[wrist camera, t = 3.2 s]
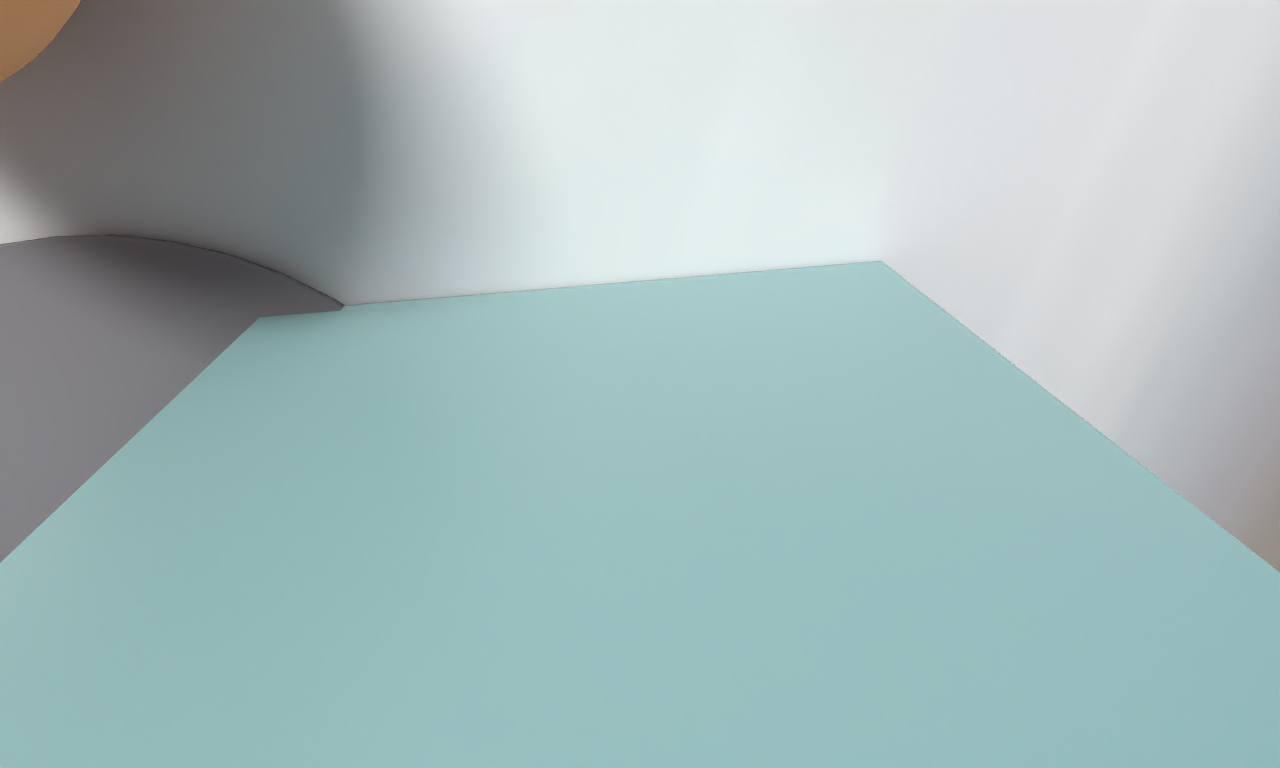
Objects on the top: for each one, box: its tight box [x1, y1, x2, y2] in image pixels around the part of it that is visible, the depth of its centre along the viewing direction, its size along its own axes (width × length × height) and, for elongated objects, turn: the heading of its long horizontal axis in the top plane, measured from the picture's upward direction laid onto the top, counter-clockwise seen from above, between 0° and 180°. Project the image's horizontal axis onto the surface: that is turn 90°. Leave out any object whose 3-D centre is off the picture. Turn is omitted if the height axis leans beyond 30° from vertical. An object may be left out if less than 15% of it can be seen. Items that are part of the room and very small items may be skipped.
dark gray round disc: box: [0, 235, 344, 563], centre depth 13 cm, size 10×10×1 cm
